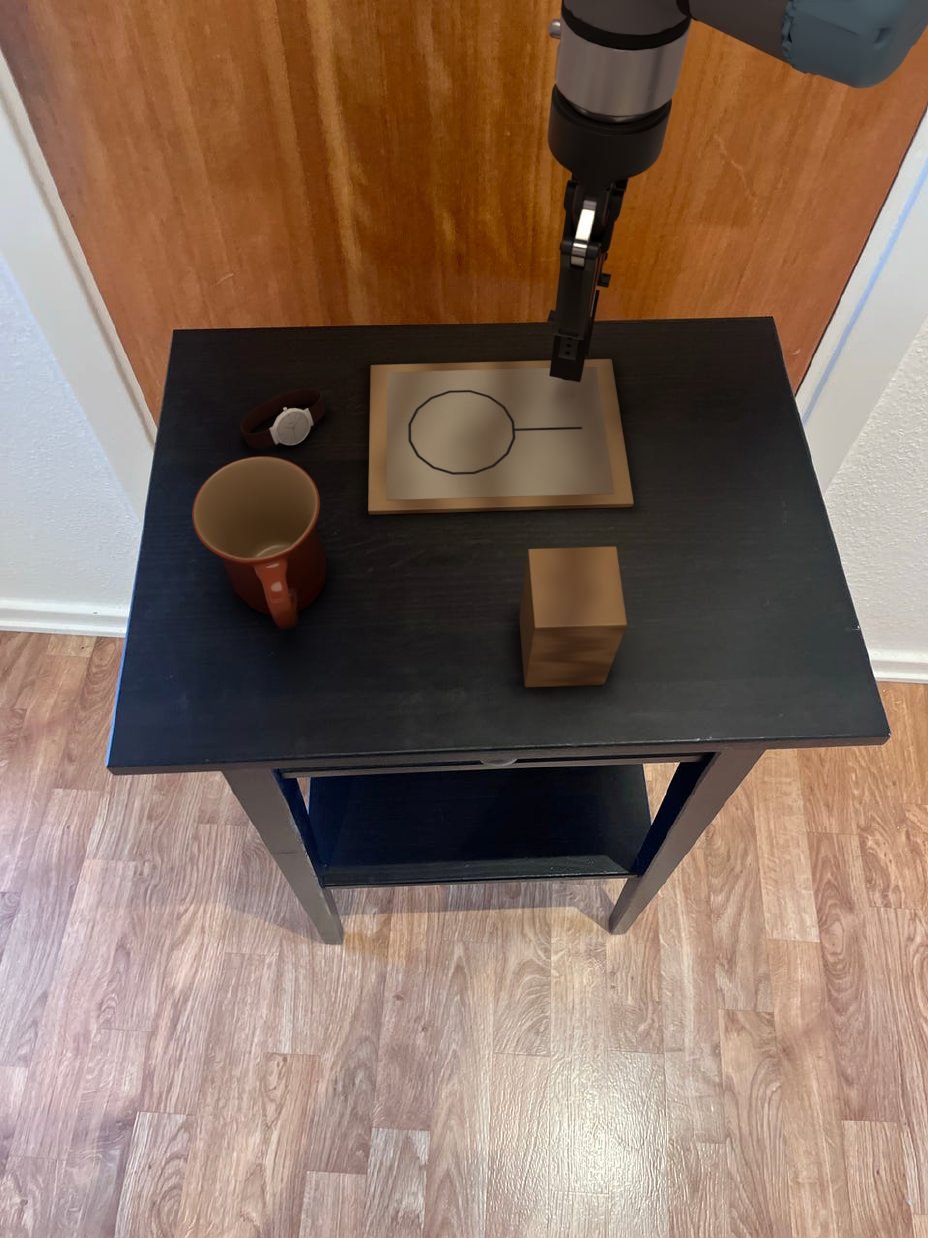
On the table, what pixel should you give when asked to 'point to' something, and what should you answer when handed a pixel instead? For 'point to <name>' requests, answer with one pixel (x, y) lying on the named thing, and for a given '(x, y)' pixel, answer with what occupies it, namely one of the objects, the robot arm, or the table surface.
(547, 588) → the wooden block
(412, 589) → the table surface
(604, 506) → the sketch pad
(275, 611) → the mug
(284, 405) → the watch
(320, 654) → the table surface
